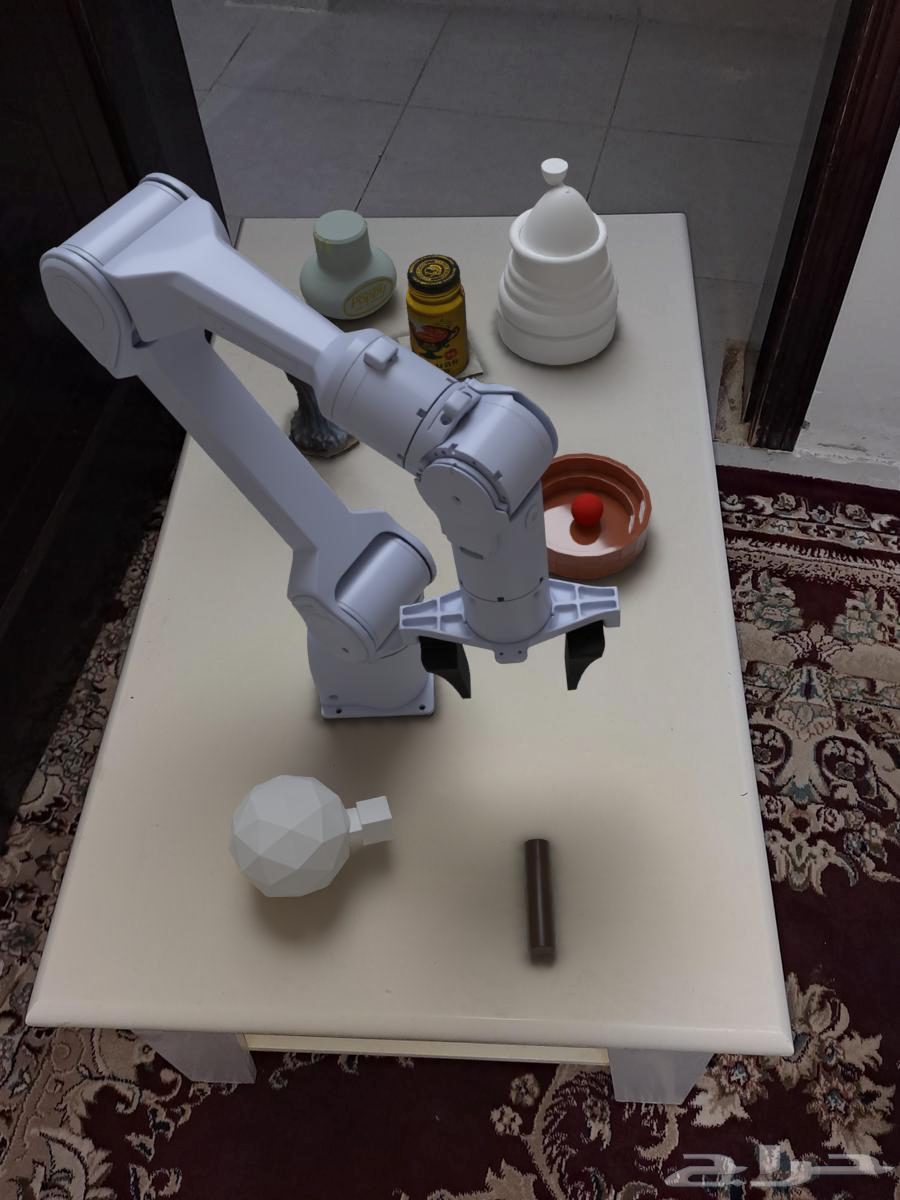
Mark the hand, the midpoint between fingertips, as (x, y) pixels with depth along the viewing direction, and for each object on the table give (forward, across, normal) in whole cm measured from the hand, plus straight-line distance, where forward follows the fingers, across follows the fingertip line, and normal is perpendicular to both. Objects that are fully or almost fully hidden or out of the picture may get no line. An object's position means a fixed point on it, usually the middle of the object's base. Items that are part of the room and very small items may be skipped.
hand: (518, 682), depth 73 cm
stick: (+10, 0, -8) cm, 13 cm away
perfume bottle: (+10, -17, -8) cm, 21 cm away
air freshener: (+6, -16, +58) cm, 60 cm away
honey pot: (+8, +6, +52) cm, 53 cm away
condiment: (+8, -6, +48) cm, 49 cm away
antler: (+7, -20, +37) cm, 43 cm away
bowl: (+10, +6, +23) cm, 26 cm away
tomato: (+8, +7, +23) cm, 26 cm away
